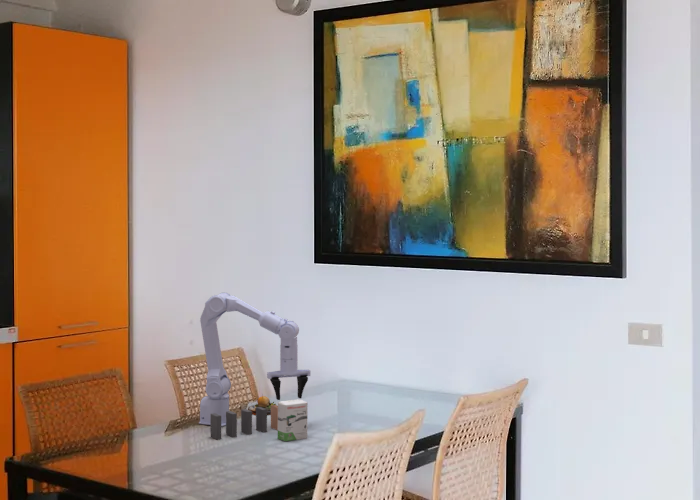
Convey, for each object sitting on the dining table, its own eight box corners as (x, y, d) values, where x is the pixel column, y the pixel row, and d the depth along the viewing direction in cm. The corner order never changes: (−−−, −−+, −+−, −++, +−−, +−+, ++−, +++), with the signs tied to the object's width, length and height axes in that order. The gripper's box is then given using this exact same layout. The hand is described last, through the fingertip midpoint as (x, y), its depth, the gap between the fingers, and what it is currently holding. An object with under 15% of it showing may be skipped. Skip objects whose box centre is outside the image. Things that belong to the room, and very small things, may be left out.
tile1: (277, 430, 309) (277, 407, 309) (270, 427, 313) (270, 405, 312) (281, 429, 310) (281, 407, 310) (274, 426, 314) (274, 404, 313)
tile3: (247, 435, 303) (247, 412, 302) (241, 432, 306) (241, 409, 306) (252, 434, 304) (251, 411, 303) (245, 431, 307) (245, 408, 307)
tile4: (232, 437, 300) (232, 414, 299) (226, 434, 303) (226, 411, 303) (236, 436, 301) (236, 413, 300) (230, 433, 304) (230, 410, 304)
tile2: (262, 432, 306) (262, 409, 306) (256, 429, 310) (256, 407, 309) (266, 431, 307) (266, 409, 306) (260, 429, 310) (260, 406, 310)
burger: (287, 411, 338) (287, 390, 337) (267, 418, 328) (267, 396, 327) (261, 407, 344) (261, 387, 344) (240, 413, 334) (240, 392, 334)
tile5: (216, 439, 297) (216, 416, 296) (210, 436, 300) (210, 413, 300) (221, 439, 298) (221, 415, 297) (215, 436, 301) (215, 413, 301)
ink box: (284, 441, 294) (284, 404, 294) (276, 438, 299) (276, 401, 298) (308, 438, 299) (308, 401, 299) (300, 434, 303) (300, 398, 303)
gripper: (305, 355, 319) (305, 394, 320) (264, 357, 314) (264, 397, 315) (312, 358, 313) (312, 398, 313) (270, 361, 307) (270, 402, 308)
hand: (288, 398), depth 314 cm, fingers open, 7 cm apart
